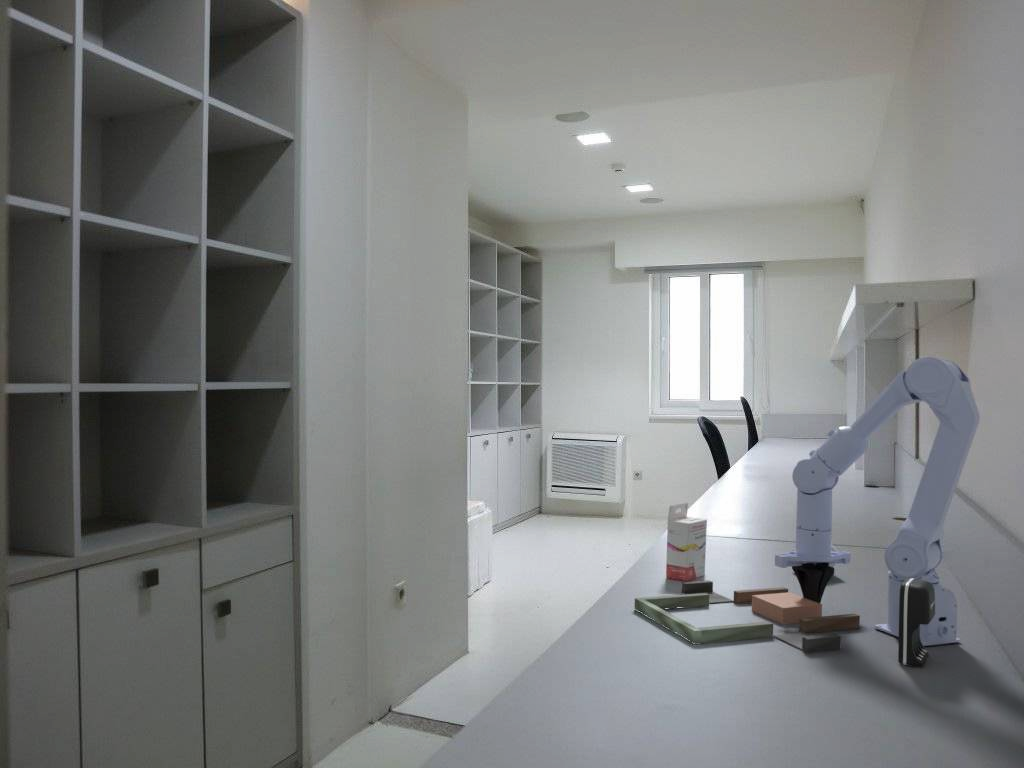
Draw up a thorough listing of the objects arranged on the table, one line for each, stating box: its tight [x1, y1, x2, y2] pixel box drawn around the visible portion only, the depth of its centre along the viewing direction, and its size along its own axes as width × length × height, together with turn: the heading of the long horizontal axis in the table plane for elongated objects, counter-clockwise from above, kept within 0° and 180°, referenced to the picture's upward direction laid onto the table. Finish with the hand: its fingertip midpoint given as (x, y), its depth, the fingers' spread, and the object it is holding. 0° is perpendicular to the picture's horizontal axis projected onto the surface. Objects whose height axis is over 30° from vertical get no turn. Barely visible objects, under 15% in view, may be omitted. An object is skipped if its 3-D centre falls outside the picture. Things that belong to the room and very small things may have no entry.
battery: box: [897, 578, 935, 668], centre depth 108 cm, size 7×4×11 cm, turn 143°
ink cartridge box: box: [665, 502, 708, 582], centre depth 155 cm, size 9×5×15 cm, turn 141°
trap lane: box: [634, 580, 861, 654], centre depth 127 cm, size 34×31×2 cm
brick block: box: [751, 591, 823, 625], centre depth 130 cm, size 8×8×3 cm
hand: (811, 606), depth 131 cm, fingers closed
